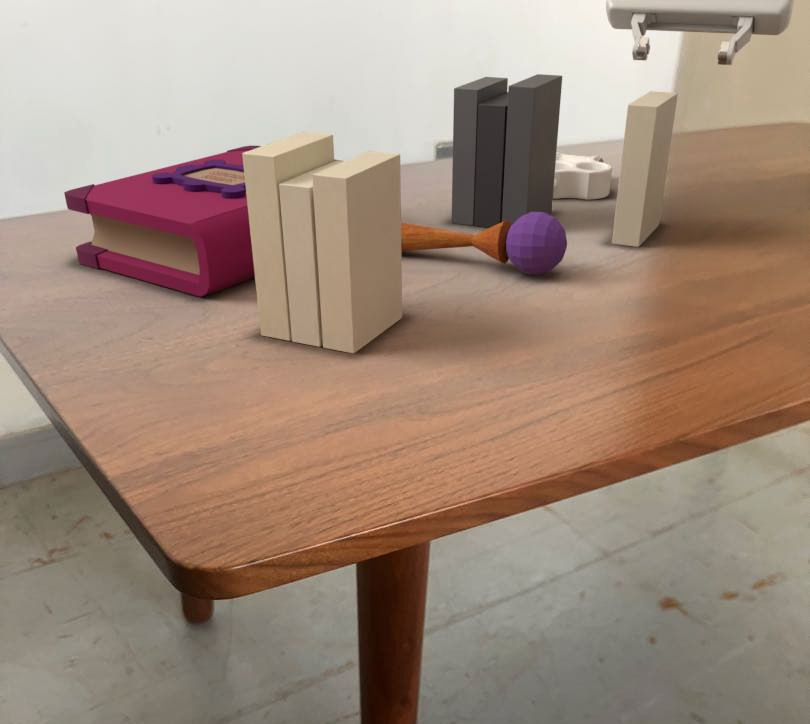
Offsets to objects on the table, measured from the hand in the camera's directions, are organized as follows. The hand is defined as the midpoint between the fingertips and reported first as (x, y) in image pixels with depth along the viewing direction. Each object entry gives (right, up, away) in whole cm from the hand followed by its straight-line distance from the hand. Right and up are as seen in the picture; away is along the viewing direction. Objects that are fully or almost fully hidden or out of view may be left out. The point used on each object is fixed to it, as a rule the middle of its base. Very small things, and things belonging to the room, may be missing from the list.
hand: (680, 58), depth 102 cm
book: (-49, -21, 0) cm, 54 cm away
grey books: (-19, -15, +8) cm, 25 cm away
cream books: (-37, -34, -20) cm, 55 cm away
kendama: (-24, -25, -6) cm, 35 cm away
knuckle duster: (-12, -7, +20) cm, 24 cm away
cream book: (-5, -19, +2) cm, 20 cm away
